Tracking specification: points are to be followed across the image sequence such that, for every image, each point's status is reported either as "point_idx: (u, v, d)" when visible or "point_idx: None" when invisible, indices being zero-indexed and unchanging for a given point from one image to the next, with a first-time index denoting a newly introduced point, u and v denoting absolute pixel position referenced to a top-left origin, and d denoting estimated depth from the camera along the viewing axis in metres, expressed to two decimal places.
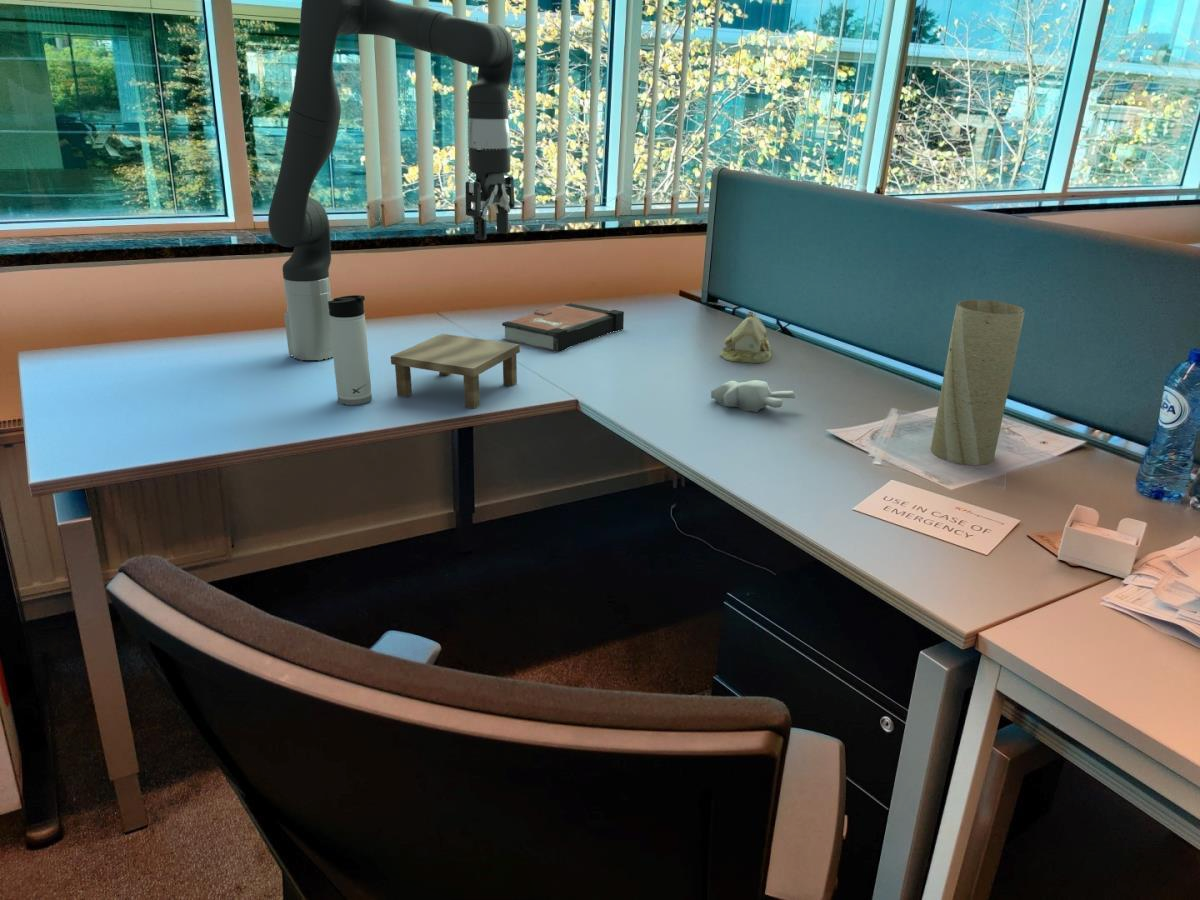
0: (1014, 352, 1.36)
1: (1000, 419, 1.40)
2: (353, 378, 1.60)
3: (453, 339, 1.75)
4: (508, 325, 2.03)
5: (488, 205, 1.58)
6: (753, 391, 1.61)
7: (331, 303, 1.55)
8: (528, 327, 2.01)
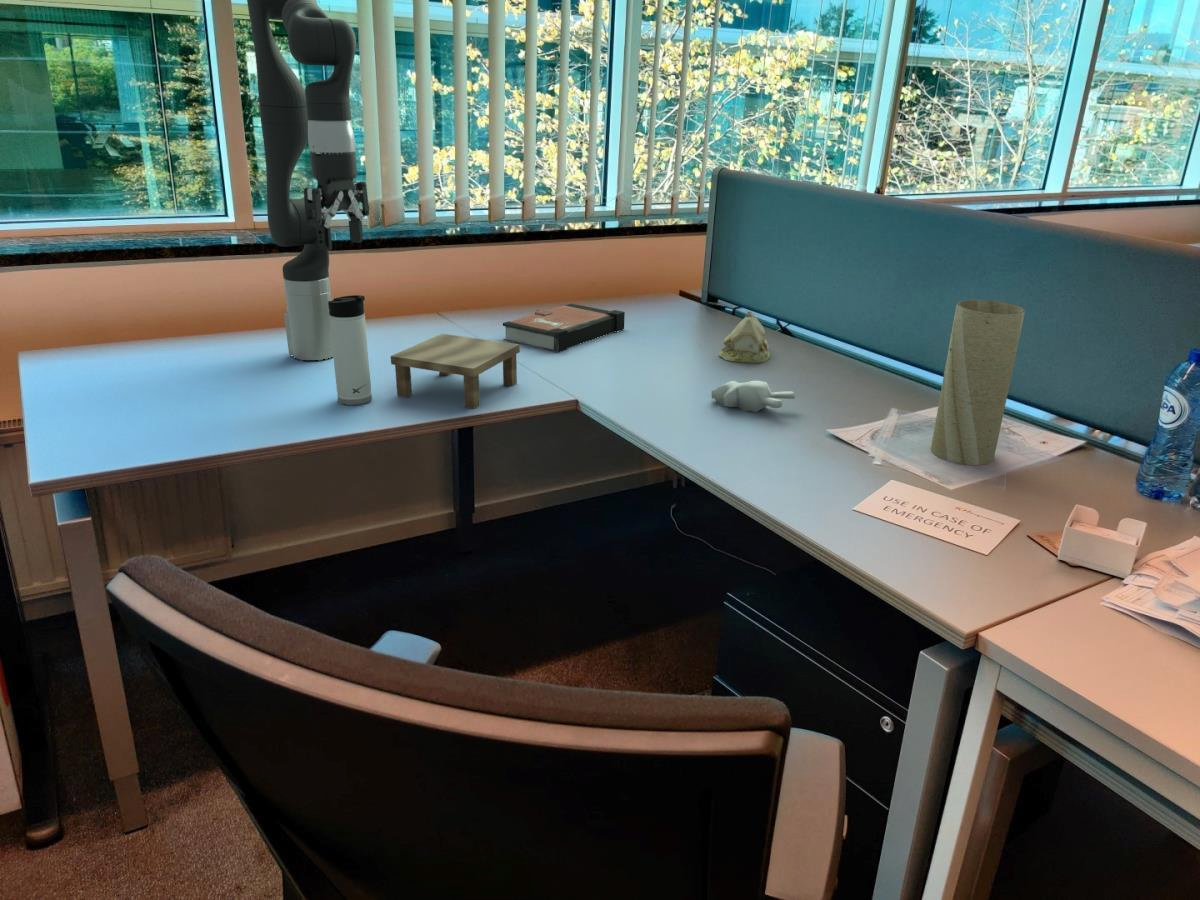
0: (1014, 352, 1.36)
1: (1000, 419, 1.40)
2: (353, 378, 1.60)
3: (453, 339, 1.75)
4: (509, 325, 2.03)
5: (332, 213, 1.48)
6: (753, 391, 1.61)
7: (331, 303, 1.55)
8: (529, 328, 2.00)
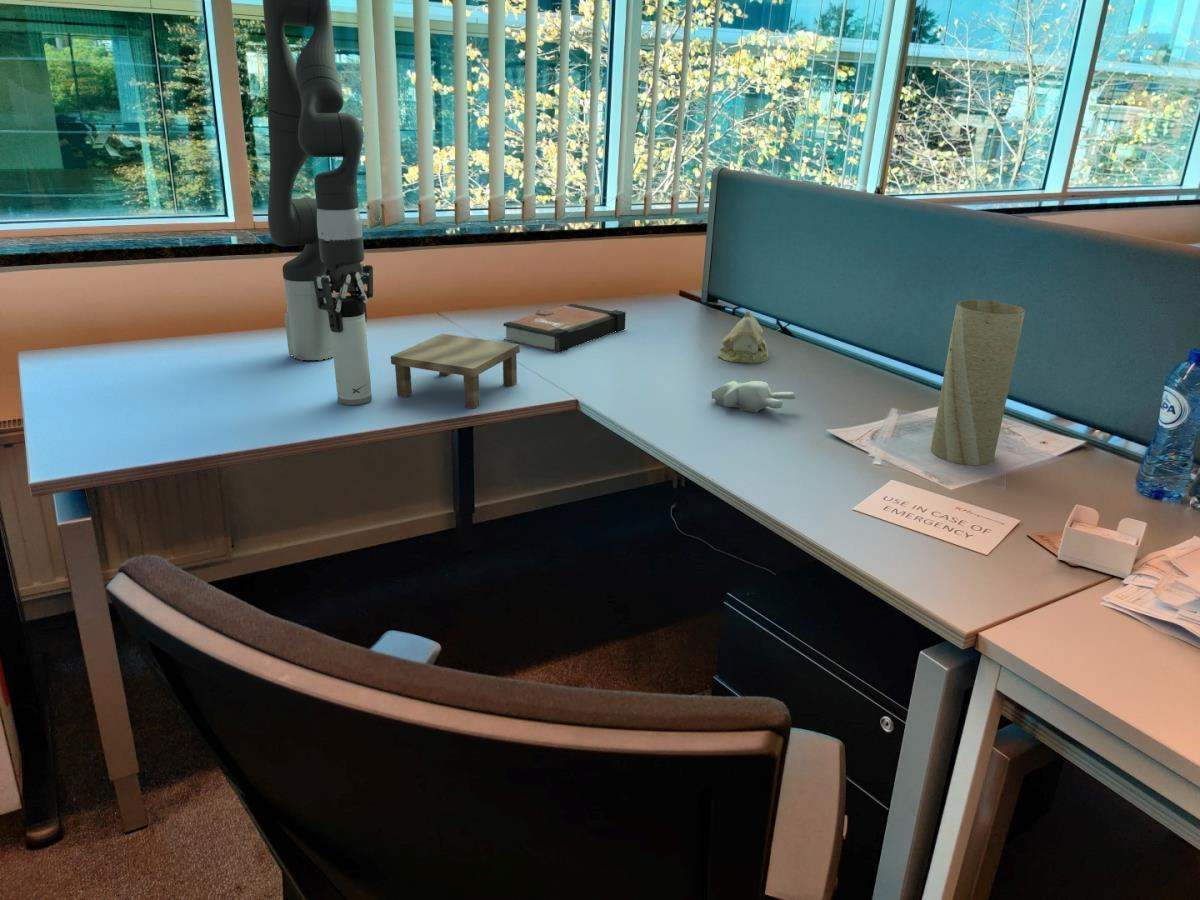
0: (1014, 352, 1.36)
1: (1000, 419, 1.40)
2: (353, 378, 1.60)
3: (453, 339, 1.75)
4: (509, 325, 2.03)
5: (342, 298, 1.53)
6: (753, 392, 1.61)
7: None
8: (530, 328, 2.00)
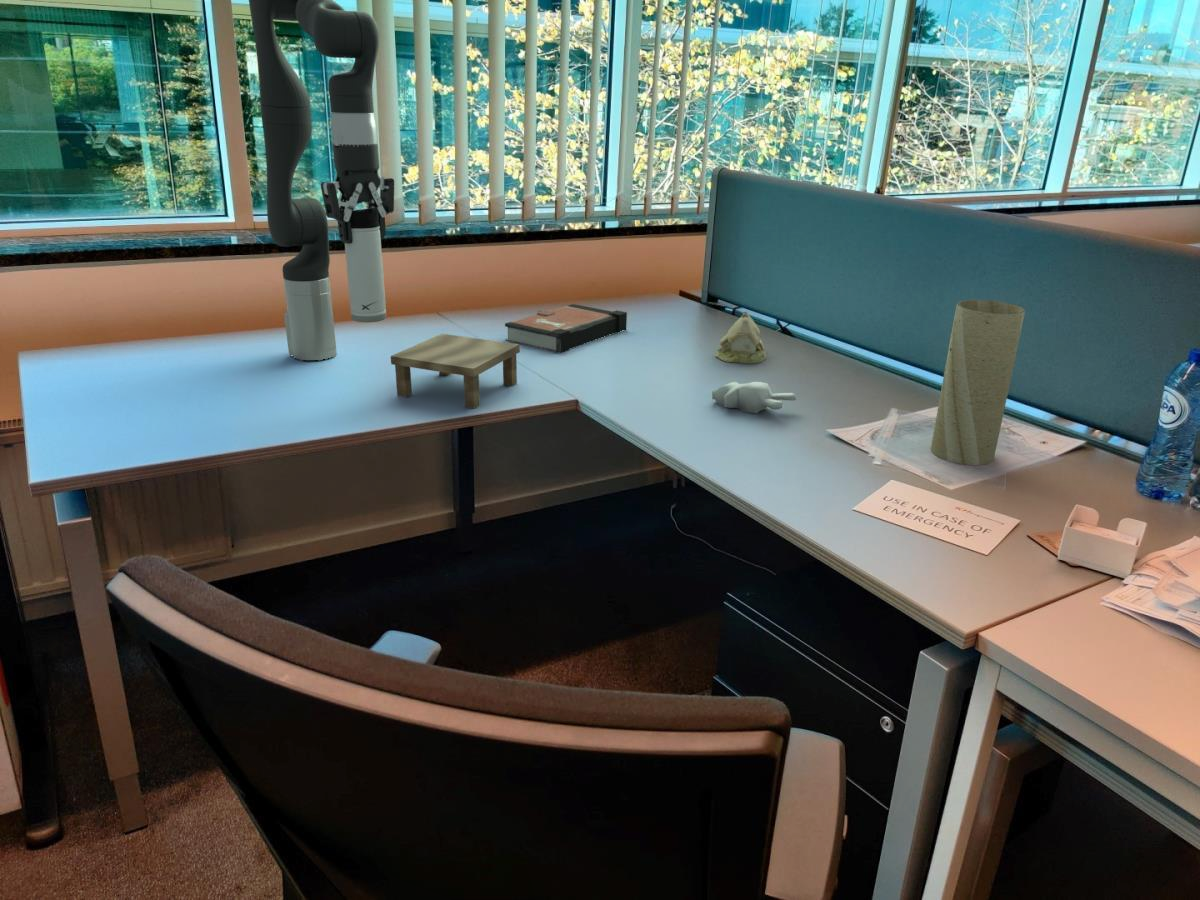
0: (1014, 352, 1.36)
1: (1000, 419, 1.40)
2: (362, 294, 1.55)
3: (453, 339, 1.75)
4: (511, 326, 2.03)
5: (351, 207, 1.49)
6: (753, 392, 1.60)
7: None
8: (531, 328, 2.00)
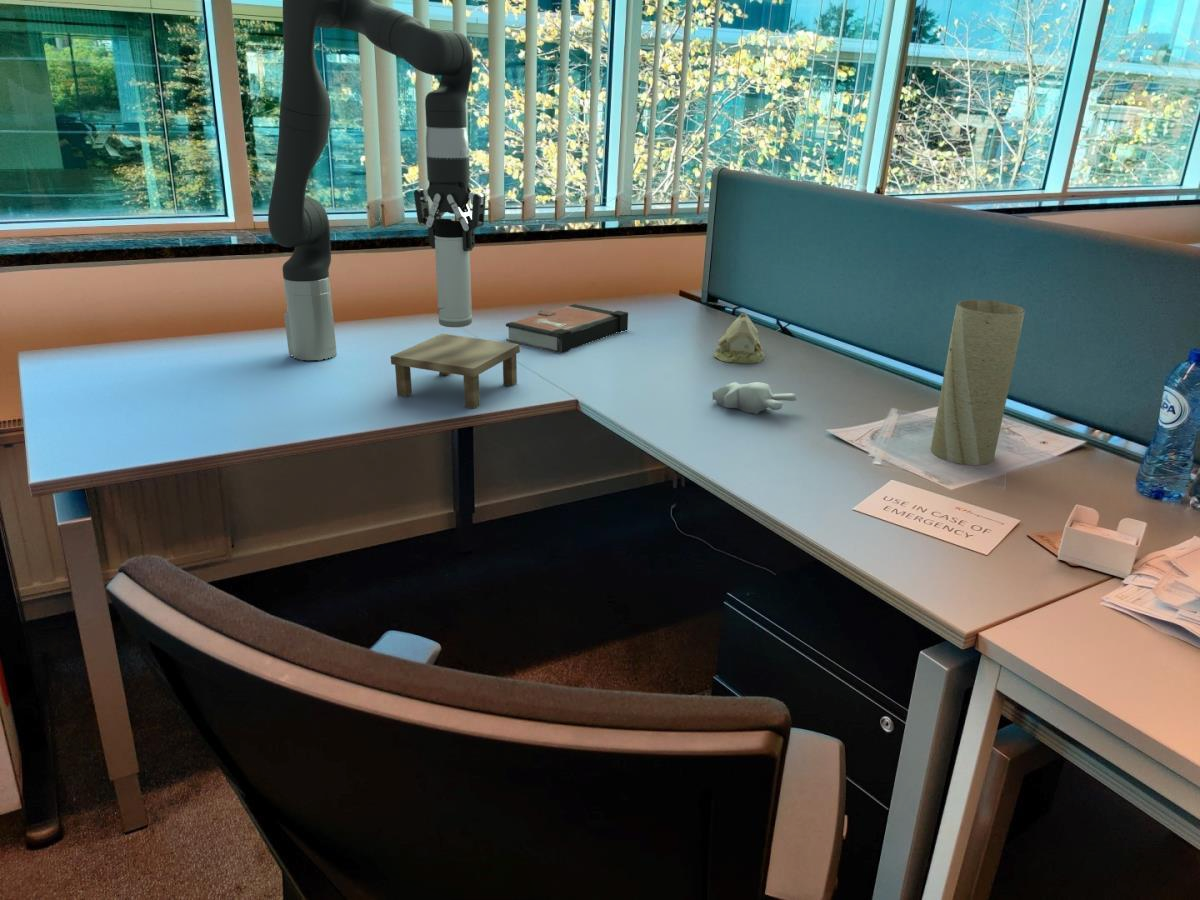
0: (1014, 352, 1.36)
1: (1000, 419, 1.40)
2: None
3: (453, 339, 1.75)
4: (512, 326, 2.03)
5: (430, 214, 1.58)
6: (753, 393, 1.60)
7: (439, 220, 1.61)
8: (532, 328, 2.00)
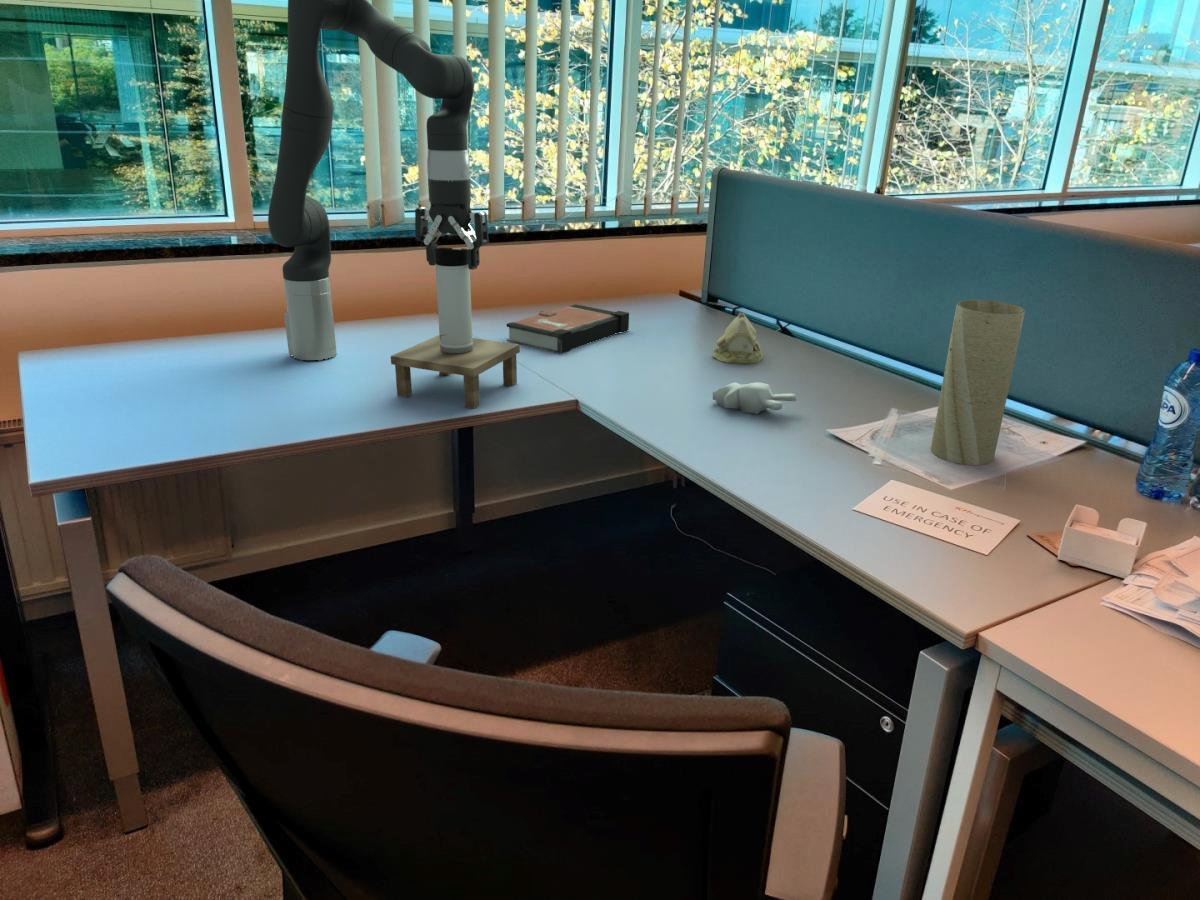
0: (1014, 352, 1.36)
1: (1000, 419, 1.40)
2: (439, 324, 1.66)
3: None
4: (512, 326, 2.03)
5: (429, 233, 1.60)
6: (753, 393, 1.60)
7: (440, 248, 1.63)
8: (533, 328, 2.00)
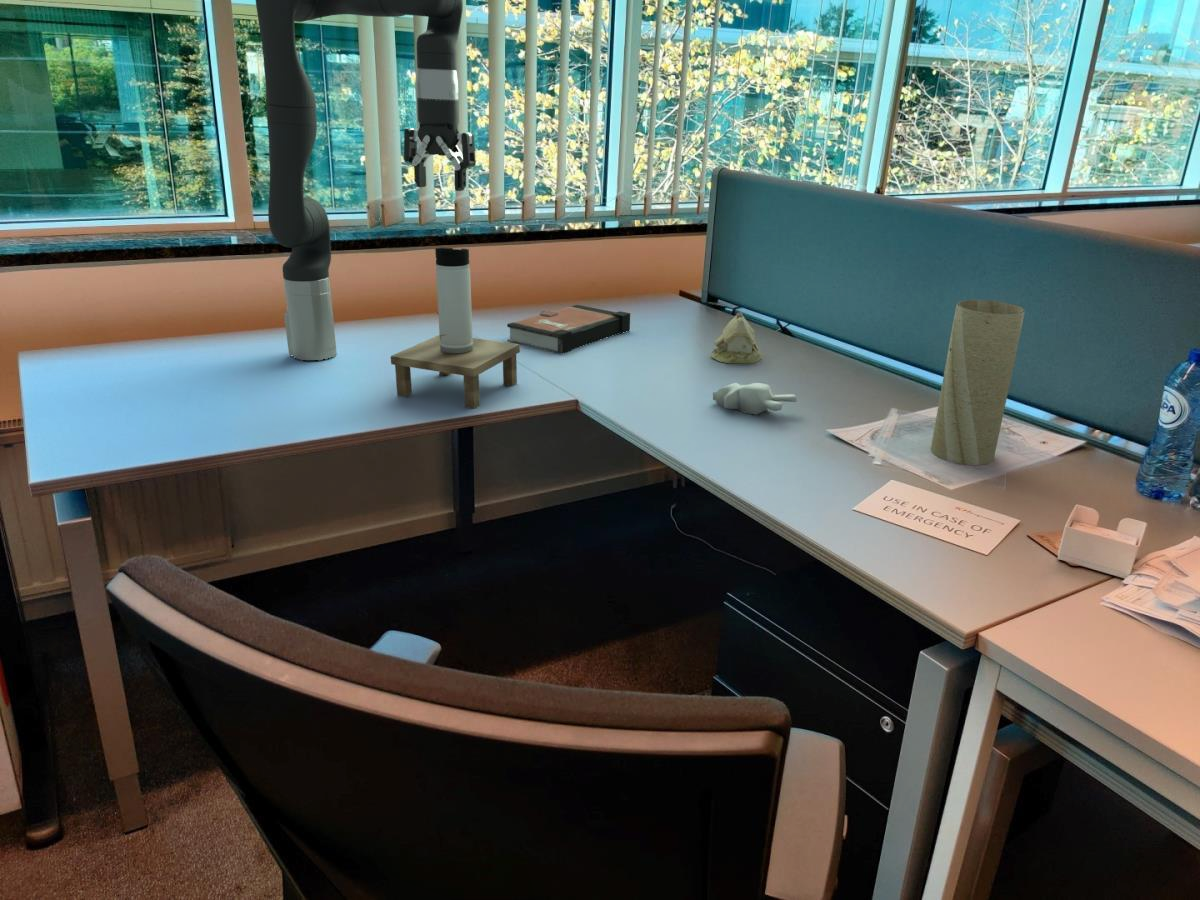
0: (1014, 352, 1.36)
1: (1000, 419, 1.40)
2: (439, 324, 1.66)
3: None
4: (513, 326, 2.03)
5: (418, 154, 1.62)
6: (753, 394, 1.60)
7: (441, 248, 1.63)
8: (533, 329, 2.00)
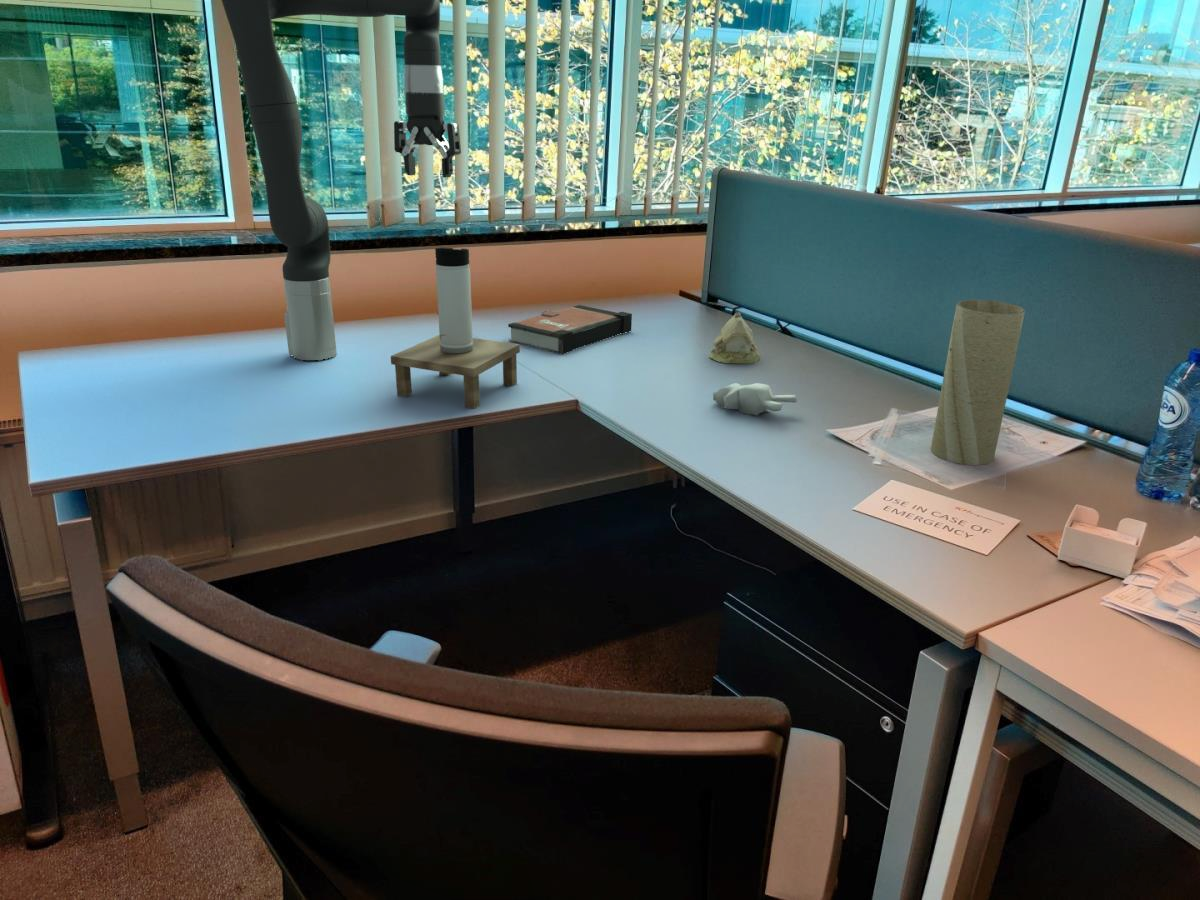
0: (1014, 352, 1.36)
1: (1000, 419, 1.40)
2: (439, 324, 1.66)
3: None
4: (514, 326, 2.03)
5: (407, 144, 1.75)
6: (753, 394, 1.60)
7: (441, 248, 1.63)
8: (534, 329, 2.00)
